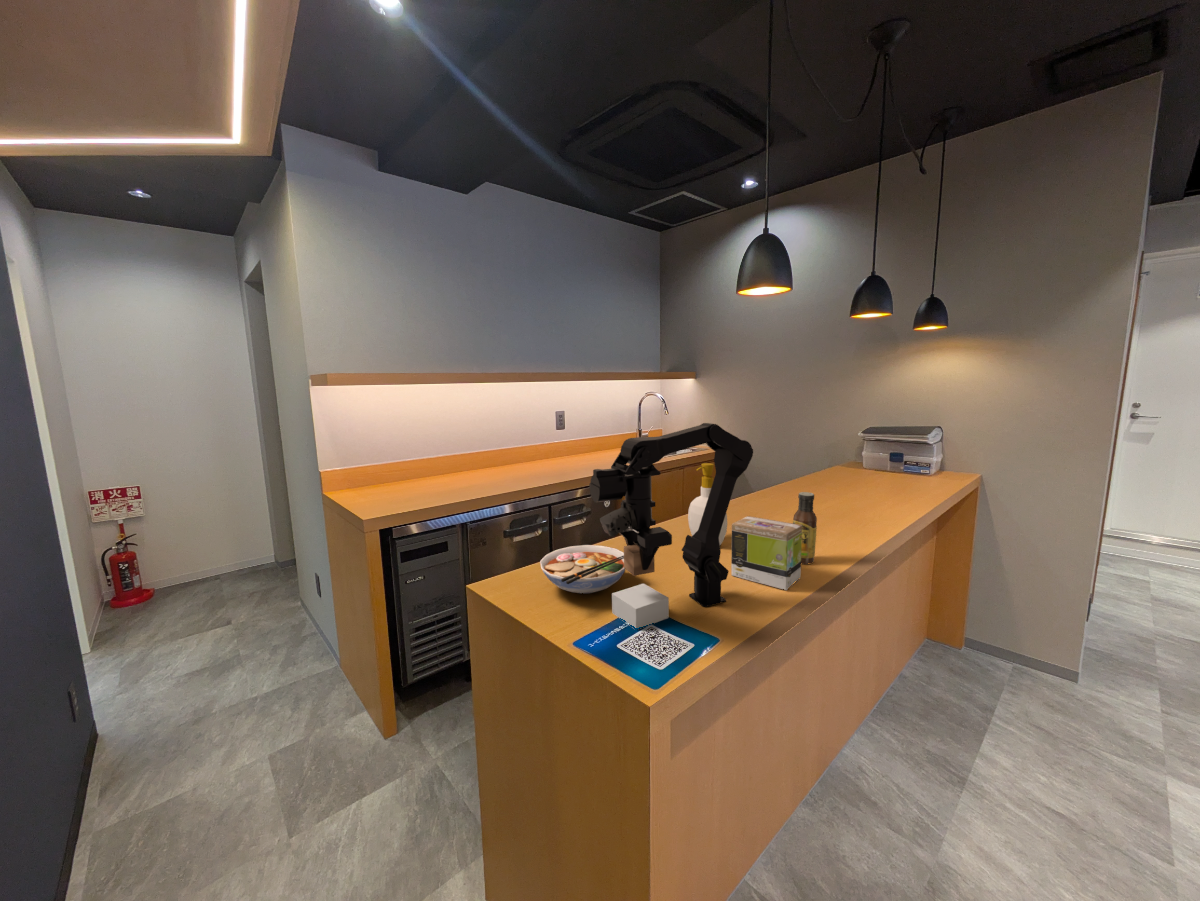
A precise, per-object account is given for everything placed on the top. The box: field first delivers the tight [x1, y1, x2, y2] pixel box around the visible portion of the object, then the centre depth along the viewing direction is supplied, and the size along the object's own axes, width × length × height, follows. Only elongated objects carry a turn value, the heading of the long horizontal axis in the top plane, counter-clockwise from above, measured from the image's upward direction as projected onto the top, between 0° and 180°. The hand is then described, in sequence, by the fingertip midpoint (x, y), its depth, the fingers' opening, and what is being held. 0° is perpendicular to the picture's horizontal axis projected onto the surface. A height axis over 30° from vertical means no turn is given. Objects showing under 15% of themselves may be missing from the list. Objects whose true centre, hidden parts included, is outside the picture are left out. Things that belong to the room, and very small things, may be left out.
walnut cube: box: [623, 544, 655, 577], centre depth 103 cm, size 5×5×5 cm
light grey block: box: [611, 583, 670, 628], centre depth 105 cm, size 9×9×5 cm
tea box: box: [730, 515, 802, 591], centre depth 122 cm, size 15×10×15 cm, turn 47°
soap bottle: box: [687, 462, 728, 546], centre depth 148 cm, size 14×9×26 cm, turn 36°
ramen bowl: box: [539, 544, 627, 595], centre depth 120 cm, size 25×23×8 cm
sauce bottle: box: [792, 491, 818, 565], centre depth 132 cm, size 6×6×20 cm
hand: (639, 565), depth 104 cm, fingers closed on walnut cube, 5 cm apart
